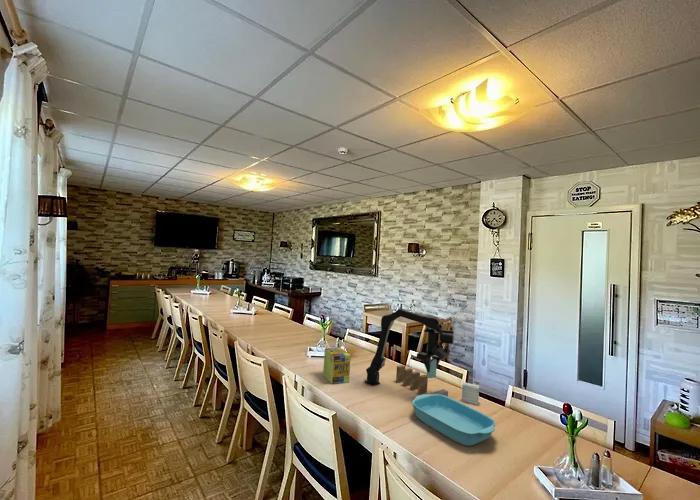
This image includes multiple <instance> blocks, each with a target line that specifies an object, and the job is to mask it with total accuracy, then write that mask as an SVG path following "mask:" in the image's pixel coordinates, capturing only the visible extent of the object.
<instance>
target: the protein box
mask: <svg viewBox="0 0 700 500" xmlns="http://www.w3.org/2000/svg"><path fill="white" fill-rule="evenodd" d="M351 358H352V356H351V354H350V353H348V352H347V351H346V350H344V349H343V348H342V347H325V348H324V355H323V369H322V375H323V376H324V378H326V380H328V382H329V383H330V384H331V385H337V384H338V385H339V384H347V383H350V375H351V373H350V372H351V371H350V370H351Z"/></svg>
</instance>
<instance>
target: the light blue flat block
mask: <svg viewBox="0 0 700 500" xmlns="http://www.w3.org/2000/svg"><path fill="white" fill-rule="evenodd" d="M431 360H433V361H432V362H431V365H430V372H427V371H426V375H427V378H428V379H433V378H436V377H437V369H436V365H437V360H436V359H432V358H431Z"/></svg>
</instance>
